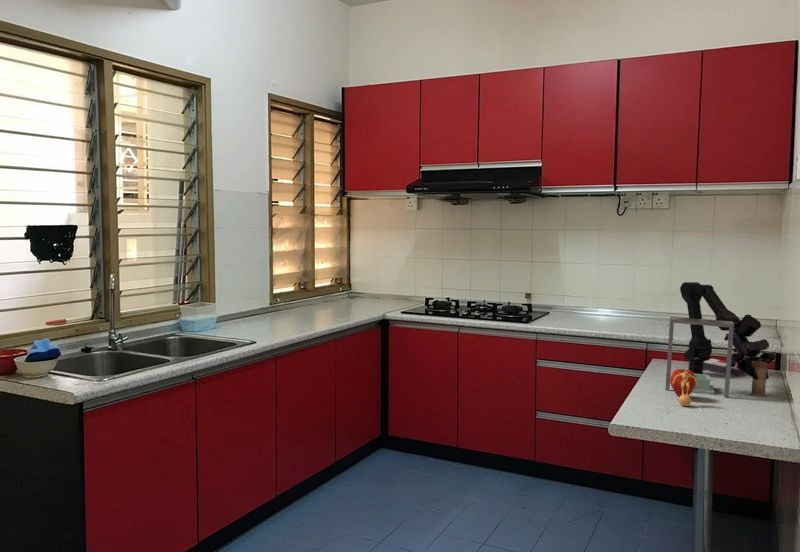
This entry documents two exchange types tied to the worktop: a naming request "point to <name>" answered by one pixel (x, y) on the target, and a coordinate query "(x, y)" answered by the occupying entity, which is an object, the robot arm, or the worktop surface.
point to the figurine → (683, 399)
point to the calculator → (721, 367)
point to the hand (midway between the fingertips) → (762, 378)
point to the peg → (759, 379)
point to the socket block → (703, 384)
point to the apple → (677, 382)
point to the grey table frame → (708, 323)
